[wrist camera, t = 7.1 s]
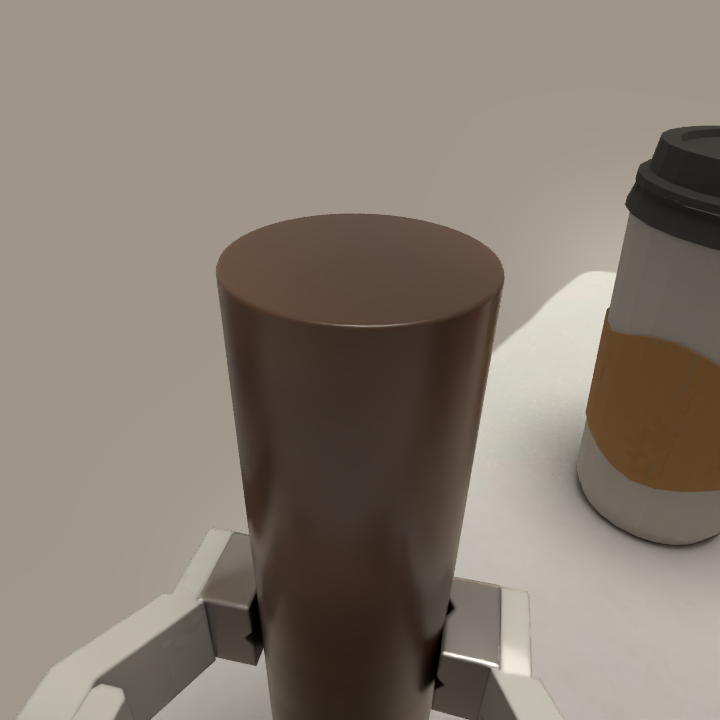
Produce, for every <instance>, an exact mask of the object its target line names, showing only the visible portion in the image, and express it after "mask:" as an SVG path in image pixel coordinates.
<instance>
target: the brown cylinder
mask: <svg viewBox="0 0 720 720" xmlns="http://www.w3.org/2000/svg"><path fill="white" fill-rule="evenodd" d="M216 277H217V285H218V293H219V301H220V309H221V317H222V325H223V332H224V340H225V348H226V356H227V364H228V371H229V379H230V387H231V395H232V403H233V410H234V418H235V426H236V434H237V442H238V449H239V458H240V465H241V474H242V481H243V489H244V497H245V504H246V512H247V520H248V528H249V536H250V544H251V552H252V560H253V568H254V575H255V583H256V591H257V599H258V607H259V615H260V622H261V630H262V638H263V646H264V654H265V662H266V669H267V677H268V685H269V693H270V701H271V709H272V716H273V720H429V716H430V710H431V704H432V697H433V687H434V679H435V672H436V666H437V661H438V658H439V649H440V642H441V637H442V631H443V626H444V622H445V619H446V616H447V611H448V605H449V599H450V593H451V587H452V582H453V576H454V570H455V564H456V558H457V552H458V547H459V541H460V535H461V529H462V523H463V517H464V512H465V506H466V500H467V494H468V488H469V482H470V477H471V471H472V465H473V459H474V453H475V448H476V442H477V436H478V430H479V424H480V418H481V413H482V407H483V401H484V395H485V389H486V383H487V378H488V372H489V366H490V360H491V354H492V348H493V342H494V336H495V331H496V325H497V319H498V313H499V308H500V302H501V296H502V290H503V284H504V270H503V267H502V264H501V261H500V260H499V258H498V257H497V256H496V254H495V253H494V252H493V251H492V250H491V249H489V248H488V247H487V246H485V245H484V244H483V243H481V242H480V241H478V240H476V239H474V238H472V237H471V236H469V235H466V234H464V233H462V232H459V231H457V230H454V229H451V228H448V227H445V226H441V225H438V224H434V223H430V222H426V221H422V220H417V219H411V218H405V217H398V216H390V215H378V214H329V215H318V216H310V217H303V218H297V219H292V220H287V221H283V222H279V223H275V224H272V225H268V226H265V227H262V228H260V229H257V230H254V231H252V232H250V233H248V234H246V235H244V236H242V237H240V238H239V239H237V240H236V241H234V242H233V243H231V244H230V245H229V246H228V247H227V248H226V249H225V250H224V251H223V253H222V254H221V256H220V258H219V260H218V263H217V266H216Z"/></svg>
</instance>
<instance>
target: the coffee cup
mask: <svg viewBox="0 0 720 720" xmlns="http://www.w3.org/2000/svg"><path fill="white" fill-rule="evenodd" d="M625 205H626V207H627V208H628V210H629V211H630V213H629V218H628V223H627V228H626V232H625V237H624V242H623V247H622V252H621V256H620V261H619V266H618V271H617V275H616V280H615V285H614V290H613V294H612V299H611V304H610V307H609V308H608V309H607V311H606V316H605V320H604V325H603V330H602V335H601V340H600V345H599V350H598V354H597V359H596V364H595V369H594V374H593V379H592V384H591V389H590V394H589V398H588V403H587V408H586V416H587V419H586V423H585V428H584V433H583V438H582V442H581V447H580V452H579V457H578V462H577V466H576V467H577V472H578V477H579V480H580V482H581V485H582V490H583V492H584V494H585V495H586V497H587V499H588V501H589V502H590V503H591V505H592V506H593V507H594V508H595V509H596V510H597V511H598V512H599V513H600V514H601V515H602V516H603V517H605V518H606V519H607V520H609V521H610V522H611V523H613V524H614V525H615V526H617V527H619V528H621V529H623V530H625V531H626V532H628V533H630V534H632V535H634V536H637V537H640V538H643V539H646V540H649V541H652V542H656V543H663V544H669V545H685V544H693V543H696V542H699V541H702V540H705V539H706V538H708V537H711V536H714V535H717V534H718V533H720V126H691V127H681V128H675V129H670V130H668V131H666V132H663V133H662V135H661V137H660V140H659V142H658V145H657V147H656V150H655V152H654V155H653V157H652V159H650V160H648V161H646V162H644V163H642V164H640V166H639V169H638V172H637V175H636V182H635V184H634V186H633V188H632V190H631V191H630V193H629V195H628V196H627V199H626V203H625Z"/></svg>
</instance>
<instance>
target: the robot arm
mask: <svg viewBox="0 0 720 720" xmlns="http://www.w3.org/2000/svg"><path fill="white" fill-rule="evenodd" d="M263 648H264V646H263V638H262V630H261V622H260V615H259V607H258V599H257V591H256V583H255V575H254V568H253V560H252V552H251V544H250V536H249V535H247V534H242V533H238V532H233V531H229V530H224V529H219V528H215V527H213V528H212V529H211V530H210V531H209V532H208V533H206V535H205V537H204V538H203V540H202V542H201V544H200V545H199V547H198V549H197V550H196V552H195V554H194V556H193V558H192V559H191V561H190V562H189V564H188V566H187V568H186V569H185V571H184V573H183V574H182V576H181V578H180V580H179V581H178V583H177V585H176V587H175V588H174V590H173V592H172V594H168V593H163V594H162V595H160V596H159V597H157V598H156V599H154V600H153V601H151V602H150V603H148V604H147V605H145V606H143V607H142V608H140V609H139V610H137V611H136V612H134V613H133V614H131V615H130V616H128V617H127V618H125V619H124V620H122V621H120V622H119V623H118V624H116V625H114V626H113V627H111V628H110V629H108V630H107V631H105V632H104V633H102V634H101V635H99V636H98V637H96V638H94V639H93V640H91V641H90V642H88V643H87V644H85V645H84V646H82V647H81V648H79V649H78V650H76V651H75V652H73V653H71V654H70V655H69V656H67V657H66V658H64V659H62V660H61V661H59V662H58V663H57V664H55V665H53V666H52V667H50V669H49V670H48V672H47V673H46V674H45V676H44V677H43V679H42V680H41V682H40V683H39V684H38V686H37V687H36V689H35V690H34V692H33V693H32V694H31V696H30V697H29V699H28V701H26V703H25V704H24V706H23V707H22V709H21V710H20V711H19V713H18V714H17V716H16V717H15V719H14V720H150V719H151V718H152V717H154V716H155V715H156V714H157V713H158V712H159V711H160V710H161V709H162V708H163V707H165V706H166V705H167V704H168V703H169V702H170V701H171V700H172V699H173V698H175V697H176V696H177V695H178V694H179V693H180V692H181V691H182V690H183V689H184V688H186V687H187V686H188V685H189V684H190V683H191V682H192V681H193V680H194V679H195V678H197V677H198V676H199V675H200V674H201V673H202V672H203V671H204V670H205V669H206V668H208V667H209V666H210V665H211V664H212V663H213V662H214V661H215V660H216V658H215V657H217V658H222V659H226V660H231V661H236V662H240V663H245V664H250V665H254V666H256V665H257V663H258V660H259V658H260V655H261V653H262V650H263ZM431 709H432V710H436V711H439V712H443V713H447V714H450V715H454V716H457V717H461V718H465V719H468V720H565V719H564V718H563V716H562V714H561V713H560V711H559V709H558V708H557V706H556V704H555V703H554V701H553V699H552V698H551V696H550V694H549V693H548V691H547V689H546V688H545V686H544V684H543V683H542V681H541V679H538V678H534V677H532V659H531V628H530V598H529V595H528V592H527V591H523V590H518V589H512V588H507V587H502V586H501V587H500V585H496V584H491V583H485V582H480V581H475V580H469V579H464V578H459V577H453V582H452V587H451V593H450V599H449V605H448V611H447V616H446V619H445V622H444V626H443V631H442V637H441V642H440V649H439V658H438V661H437V666H436V672H435V679H434V687H433V697H432V706H431Z"/></svg>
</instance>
